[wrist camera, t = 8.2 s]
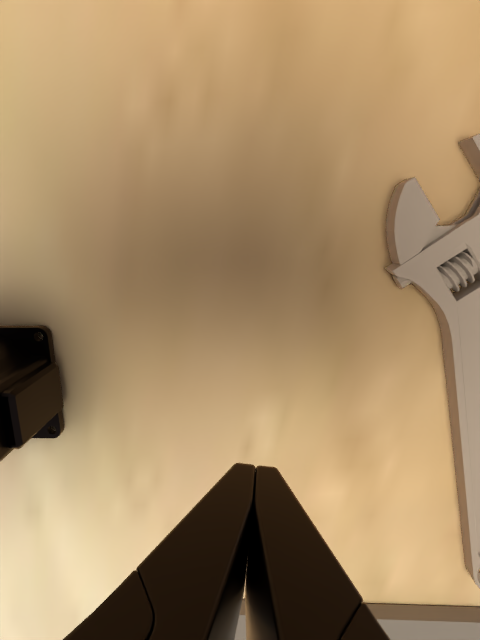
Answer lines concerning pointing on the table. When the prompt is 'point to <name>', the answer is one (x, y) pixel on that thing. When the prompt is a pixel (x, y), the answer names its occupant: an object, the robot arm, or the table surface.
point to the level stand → (413, 622)
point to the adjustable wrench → (448, 321)
